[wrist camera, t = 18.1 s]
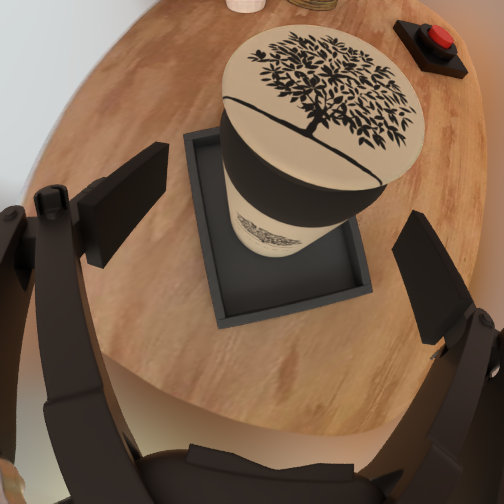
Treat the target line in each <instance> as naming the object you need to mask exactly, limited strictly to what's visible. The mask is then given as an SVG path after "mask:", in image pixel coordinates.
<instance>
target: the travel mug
mask: <svg viewBox="0 0 504 504" xmlns="http://www.w3.org/2000/svg"><path fill="white" fill-rule="evenodd" d="M222 98H223V102H224V107H225V108H224V111H223V113H222V117H221V122H220V143H221V150H222V158H223V166H224V174H225V181H226V189H227V196H228V204H229V211H230V218H231V223H232V227H233V229H234V232H235V234H236V235H237V237H238V238H239V240H240V241H241V242H242V243H243V244H244V245H245V246H246V247H247V248H249V249H250V250H252V251H253V252H255V253H258V254H260V255H263V256H267V257H284V256H288V255H291V254H294V253H296V252H298V251H299V250H301V249H303V248H304V247H306V246H307V245H309V244H311V243H312V242H314V241H315V240H317V239H318V238H320V237H322V236H323V235H325V234H326V233H328V232H330V231H331V230H333V229H334V228H336V227H337V226H339V225H340V224H342V223H344V222H345V221H347V220H348V219H350V218H351V217H353V216H355V215H356V214H358V213H359V212H361V211H362V210H364V209H365V208H367V207H368V206H370V205H371V204H372V203H373V202H374V201H376V200H377V198H378V197H379V196H380V195H381V194H382V192H383V191H384V190H385V188H386V186H387V184H388V183H390V182H392V181H394V180H396V179H397V178H399V177H400V176H402V175H403V174H404V173H406V172H407V171H408V170H409V169H410V168H411V166H412V165H413V164H414V162H415V161H416V159H417V157H418V156H419V154H420V151H421V148H422V145H423V141H424V133H425V125H424V116H423V112H422V108H421V105H420V102H419V99H418V97H417V95H416V93H415V91H414V89H413V87H412V85H411V84H410V82H409V81H408V79H407V78H406V77H405V75H404V74H403V73H402V71H401V70H400V69H399V68H398V67H397V66H396V65H395V64H394V63H393V62H392V61H391V60H390V59H389V58H388V57H387V56H385V55H384V54H383V53H382V52H380V51H379V50H378V49H376V48H375V47H373V46H372V45H370V44H368V43H366V42H365V41H363V40H361V39H359V38H357V37H355V36H352V35H350V34H348V33H345V32H342V31H339V30H335V29H332V28H327V27H322V26H315V25H287V26H281V27H276V28H272V29H269V30H266V31H264V32H261V33H259V34H257V35H255V36H253V37H251V38H250V39H248V40H247V41H246V42H244V43H243V44H242V45H241V46H240V47H239V48H238V49H237V50H236V51H235V52H234V53H233V55H232V56H231V58H230V59H229V61H228V63H227V65H226V68H225V70H224V73H223V79H222Z"/></svg>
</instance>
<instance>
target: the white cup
mask: <svg viewBox="0 0 504 504" xmlns="http://www.w3.org/2000/svg"><path fill="white" fill-rule="evenodd" d="M265 2H266V0H226V4H227V7H228V8H229V9H231V10H232V11H235V12H239V13H253V12H257V11H260V10H261V9H263V8H264V6H265Z"/></svg>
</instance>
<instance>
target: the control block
mask: <svg viewBox="0 0 504 504" xmlns="http://www.w3.org/2000/svg"><path fill="white" fill-rule="evenodd" d="M431 27H432V25H429V24H422V25H418V24H414V23H410V22H405V21H401V20H397V21H396V23H395V25H394V27H393V29H394V30H395V32H396V33H397V34H398V36H399V37H400V39H401V40H402V41H403V43H404V44H405V46H406V47H407V49H408V50H409V52H410V53H411V55H412V56H413V58H414V60H415V61H416V63H417V64H418V66H419V68H420V69H421V71H425V72H430V73H436V74H441V75H446V76H451V77H455V78H460V79H463V78H464V77H465V76H466V75H467V74H468V71H467V69H466V68H465V66H464V65H463V63H462V61H461V60H460V58H459V57H458V56H457V48H456V46H455V45H454V43H452V45H451V46H450V47H449V48H448V49H447V48H444V47H442V46H441V45H439V44H438V43H436V42H435V41H434V40H433V39H432V38H431V37H430V35H429V34H428V32H429V30H430V29H431Z"/></svg>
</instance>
